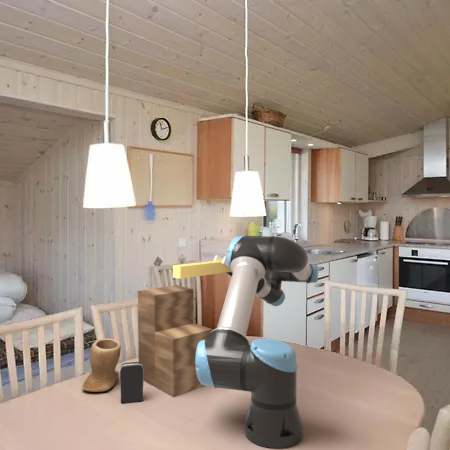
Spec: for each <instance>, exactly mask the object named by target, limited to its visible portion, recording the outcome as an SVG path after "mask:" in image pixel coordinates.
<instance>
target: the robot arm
mask: <svg viewBox="0 0 450 450" xmlns="http://www.w3.org/2000/svg"><path fill="white" fill-rule="evenodd" d="M227 252H228V253H227V256H224V257H223V258H221V257H220V256H219V255H215V256H214V258H213V261H218V260H223V261H222V264H224V265H225V266H227V267H228V268H230V269H231V272H225V274H227V275H229V276H230V277H231V278H230V282H229V285H228V289H227V292H226V295H225V299H224V303H223V304H222V307H221V309H222V310H221V312H220V315H219V320H218V323H217V325H216V328H214V329H212V331H211V332H210V334H209V337H208V340H207V341H206V340H202V341H200V342H199V343H198V345H197V349H196V357H195V365H196V374H197V378H198V380H199V382H200V383H201V384H202V385H205V386H206V387H211V388H214V389H216V388H217V389H225V390H226V389H227V390H233V391H240V392H241V391H242V392H249V393H251V395H250V398H251V399H250V404H249V408H248V411H247V414H246V416H245V420H244V425H243V426H244V429H243V431H244V436H245V437H246V438H247V439H248V440H249V441H250V442H252V443H254V444H256V445H258V446H261V447H265V448H270V449H271V448H272V449H282V448H283V449H284V448H288V447H292V446H295V445H296V444H298V443H300V442H301V441H302V439H303V438H304V424H303V421H302V417H301V414H300V412H299V408H298V406H297V371H298V364H297V354H296V351H295V349H294V348H293V347H292V346H291V345H290V344H288V343H286V342H284V341H281V340H278V339H274V338H256V339H253V340H252V342H251V344H250V341H249V339H248V337H247V332H248V329H249V323H250V320H251V316H252V315H251V314H252V310H253V306H254V302H255V297H256V298H258V299H259V298H260V299H261V300H263V301H264V302H266V303H267V304H269V305H271V306H273V307H279V306H281V305H282V304H283V303H284V301H285V299H286V295H285V292H284V291H283V289H282V282H288V283H289V282H291V283H308V284H311V283H312V284H313V283H317V282H318V280H319V266H318V265H317V264H312V263H309V261H308V260H309V257H308V253H307V251H306V250H305V248H304V247H303V246H302V245H300V244H299V243H298V242H296V241H293V239H289V238H286V237H284V236H268V235H267V236H263V235H261V236H260V235H248V234H247V235H238V236H236V237H234V238H233V239H232V240H231V241H230V244H229V245H228V250H227Z"/></svg>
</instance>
